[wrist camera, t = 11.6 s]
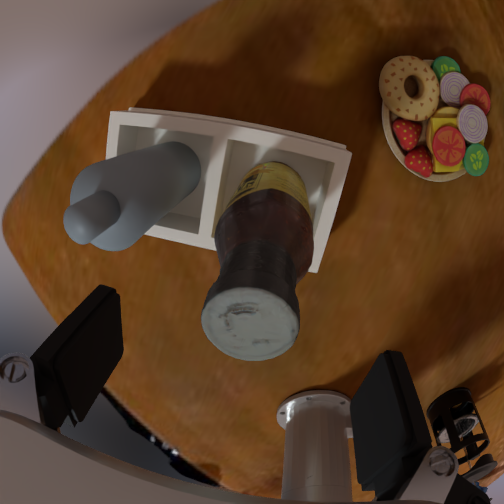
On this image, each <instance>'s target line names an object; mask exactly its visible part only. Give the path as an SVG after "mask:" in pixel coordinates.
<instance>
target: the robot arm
mask: <svg viewBox="0 0 504 504" xmlns="http://www.w3.org/2000/svg"><path fill="white" fill-rule="evenodd" d="M123 350H124V347H123V336H122V323H121V306H120V295H119V294H117V293H116V290H115V289H114V288H111V287H108V286H105V285H99V286H98V287H97V288H96V289H95V290H94V291H93V292H92V293H91V294H90V295H89V296H88V297H87V298H86V299H85V300H84V301H83V302H82V303H81V304H80V305H79V306H78V307H77V308H76V309H75V310H74V311H73V312H72V313H71V314H70V315H68V317H67V318H66V319H65V320H64V321H63V322H62V323H61V324H60V325H59V326H58V327H57V328H56V329H55V331H53V333H52V334H51V335H50V336H49V337H48V338H47V339H46V340H45V341H44V342H43V344H42V345H41V346H40V347H39V348H38V349H37V350H36V352H35V353H34V354H33V355H32V356H31V357H30V358H29V357H27V356H26V355H25V354H21V353H10V354H7V355H5V356H3V357H2V358H1V359H0V504H490V499H489V497H488V496H487V494H486V493H485V492H484V491H482V490H481V489H479V488H478V487H476V486H475V485H473V484H472V483H471V482H469V481H468V480H466V479H465V478H463V477H462V476H461V475H459V474H458V473H457V472H458V468H459V465H458V460H457V457H456V456H455V454H454V453H453V452H452V451H451V450H450V449H448V448H446V447H444V446H435V447H433V448H432V445H431V442H432V440H431V436H430V433H429V430H428V426H427V423H426V420H425V417H424V414H423V410H422V407H421V404H420V401H419V398H418V395H417V392H416V389H415V387H414V384H413V381H412V378H411V375H410V373H409V370H408V367H407V364H406V362H405V359H404V356H403V354H402V353H401V352H398V351H391V350H386V351H385V352H384V353H381V354H380V355H379V356H378V358H377V359H376V361H375V363H374V365H373V366H372V368H371V370H370V371H369V373H368V375H367V376H366V378H365V379H364V381H363V383H362V384H361V386H360V387H359V389H358V391H357V392H356V394H355V395H354V397H353V398H352V400H350V398H348V397H347V396H346V395H343V394H341V393H339V392H335V391H329V390H312V391H306V392H302V393H299V394H296V395H293V396H291V397H289V398H288V399H286V400H285V401H283V403H282V404H281V405H280V406H279V408H278V410H277V421H278V423H279V425H280V426H281V427H282V428H283V429H285V430H286V433H285V451H284V467H283V482H282V495H281V499H275V498H266V497H259V496H252V495H245V494H239V493H234V492H228V491H223V490H218V489H213V488H209V487H204V486H200V485H196V484H192V483H188V482H185V481H181V480H177V479H174V478H170V477H167V476H164V475H161V474H157V473H154V472H151V471H148V470H145V469H142V468H139V467H137V466H134V465H131V464H128V463H126V462H123V461H120V460H118V459H116V458H113V457H111V456H108V455H106V454H104V453H101V452H99V451H97V450H94V449H92V448H90V447H87V446H85V445H83V444H81V443H79V442H77V441H74V440H72V439H70V438H68V437H66V436H64V435H62V434H61V432H60V428H59V427H61V425H62V424H63V422H64V423H66V424H68V425H70V426H72V427H75V425H76V424H77V422H82V421H83V420H84V418H85V416H86V415H87V413H88V411H89V409H90V408H91V406H92V404H93V403H94V401H95V399H96V398H97V396H98V394H99V393H100V391H101V390H102V388H103V386H104V385H105V383H106V381H107V380H108V378H109V377H110V375H111V373H112V372H113V370H114V369H115V367H116V365H117V364H118V362H119V361H120V359H121V357H122V355H123ZM348 438H353V440H354V449H355V459H356V469H357V480H358V483H359V484H361V485H362V491H373V490H375V498H374V499H373V500H372V501H371V502H353V501H352V484H351V470H350V458H349V447H348Z"/></svg>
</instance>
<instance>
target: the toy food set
mask: <svg viewBox="0 0 504 504" xmlns="http://www.w3.org/2000/svg"><path fill="white" fill-rule="evenodd" d="M379 90H380V94H381V97H382V99H383V103H382V123H383V129H384V132H385V136H386V139H387V141H388V144H389V146H390V148H391V150H392V151H393V153H394V154H395V156H396V157H397V159H398V160H399V161H400V162H401V163H402V164H403V165H404V166H405V167H406V168H407V169H408V170H409V171H411V172H412V173H414V174H415V175H417V176H419V177H421V178H423V179H426V180H430V181H435V182H443V181H449V180H453V179H455V178H458V177H460V176H461V175H463V174H465V173H466V172H468V173H469V174H471V175H473V176H480V175H482V174H483V173H484V172H485V171H486V169H487V167H488V163H489V156H488V153H487V150H486V149H485V147H484V141H485V136H486V134H487V128H488V125H487V119H486V115H487V113H488V112H489V109H490V97H489V95H488V93H487V91H486V90H485V89H484V88H483V87H482V86H480V85H478V84H471V83H470V82H469V81H468V80H467V78H466V77H465V76H463V75H462V74H461V70H460V67H459V65H458V64H457V63H456V62H455V61H454V60H453V59H452V58H450V57H447V56H440V57H438V58H436V59H435V60H421V59H419V58H417V57H414V56H398V57H395V58H393V59H391V60H390V61H388V62H387V63H386V64H385V65H384V67H383V69H382V71H381V74H380V78H379Z"/></svg>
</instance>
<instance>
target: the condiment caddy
mask: <svg viewBox="0 0 504 504" xmlns="http://www.w3.org/2000/svg"><path fill="white" fill-rule="evenodd" d="M351 156H352V153H351V152H350V151H348V150H346V145H343V144H340V143H336V142H332V141H329V140H325V139H321V138H317V137H313V136H309V135H305V134H301V133H297V132H293V131H288V130H284V129H279V128H275V127H270V126H265V125H260V124H255V123H250V122H244V121H239V120H233V119H227V118H221V117H214V116H208V115H201V114H193V113H185V112H177V111H168V110H157V109H146V108H129V111H111V112H110V120H109V129H108V139H107V150H106V160H103V161H100V162H97V163H94V164H92V165H90V166H88V167H86V168H85V169H83V170H82V171H81V172H80V173H79V175H78V176H77V178H76V179H75V181H74V184H73V186H72V190H71V196H70V204H71V206H69V207H68V208H67V209H66V211H65V213H64V227H65V230H66V232H67V234H68V235H69V236H70V238H71V239H72V240H73V241H75V242H77V243H79V244H88V243H89V242H91V243H92V244H93V245H95V246H97V247H99V248H101V249H104V250H108V251H120V250H124V249H126V248H128V247H130V246H131V245H133V244H134V243H135V242H136V241H137V240H138V239H139V238H140V237H141V236H142V235H144V234H146V235H150V236H154V237H159V238H163V239H167V240H172V241H176V242H180V243H185V244H189V245H194V246H198V247H202V248H207V249H211V250H216V247H215V241H214V235H215V229H216V225H217V223H218V221H219V219H220V217H221V215H222V213H223V212H224V210H225V208H226V206H227V204H228V203H229V201H230V199H231V197H232V196H233V194H234V192H235V191H236V189H237V188H238V186H239V184H240V183H241V181H242V179H243V178H244V176H245V175H246V174H247V173H248V172H249V171H250V170H251V169H252V168H254V167H255V166H257V165H259V164H262V163H266V162H271V161H277V162H282V163H284V164H287V165H288V166H290V167H291V168H293V169H294V170H295V171H296V172H298V174H299V175H300V176H301V179H302V180H303V182H304V184H305V187H306V191H307V196H308V202H309V207H310V213H311V218H312V224H313V240H314V254H313V258H312V264H311V266H310V268H309V270H308V271H309V272H314V273H317V271H318V268H319V265H320V262H321V259H322V256H323V253H324V250H325V246H326V243H327V240H328V237H329V233H330V230H331V227H332V224H333V220H334V217H335V214H336V210H337V207H338V203H339V200H340V196H341V193H342V189H343V186H344V182H345V178H346V175H347V171H348V167H349V163H350V160H351ZM216 251H217V250H216Z"/></svg>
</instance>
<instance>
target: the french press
mask: <svg viewBox="0 0 504 504" xmlns="http://www.w3.org/2000/svg"><path fill="white" fill-rule="evenodd" d="M460 403H462V405H461V406H460V407H459V408H457V409H456V410H455V411H453V412H450V410H449V408H451V407H453V406H455V405H457V404H460ZM474 410H475V413H476V414H473V413H472V412H473V411H474ZM439 415H441V416H439ZM427 417H428V418H429V420H430V423H431V427H432V429H433V433H434V436H435V440H436V443H437V446H441V443H447V442H450V444H451V448H450V450H451V451H452V452H453V453H456V452H457V451H459V450H460V449H462V448H464V452H465V455H466V456H464V457H462V458H460V459H457V460H458V465H461V464H463V463H465V462H467V461H468V465H469V468H470V470H469V471H468V472H466V473H465V474H463V475H461V476H462V477H463V478H465V479H466V480H468V481H469V482H471V483H474V485H475V486H476V487H477V485H476V482H475V481H477V480H479V479H481V478H482V477H484V476H485V475H487V474H488V473H490V472H491V471H492V470H493V469H494V468H495V467H496V466H497V461H494V460H493V457H492V455H491V454H485V455H483V456H481V457H480V458H479V460H478V461H477V462H476V464H475V465H474V466H473V467H471V464H470V461H469V460H474V459H475V458H477V457H478V456H480V453H481V452H482V451H484V450H485V449H486V448H487V446H488V445H489V443H490V441H489V438H488V435H487V433H486V430H485V428H484V425H483V423H482V420H481V418H480V415H479V413H478V411H477V408H476V406H475V404H474V401H473V399H472V397H471V392H470V390H469V389H468V388H465V387H460V388H455V389H452V390H450V391H448V392H446V393H444V394H442V395H441V396H439V397H438V398H437V399H435V400H434V401H433V402H432V403H431V405H430V406H429V407H428V409H427ZM478 421H479V422H480V425H481V428H482V430H483V433H481V434H477V435H473V433H472V429H473V428H474V427H475V426H476V425H477V423H478ZM437 431H439V433H437ZM462 438H463V439H462ZM460 439H461V441H460ZM481 440H485V441H484V443H483V444H482V445H481V446H480V447H477V444H476V442H477V441H481ZM465 447H466V448H465ZM466 450H467V451H466ZM467 453H468V454H467ZM491 500H492V498H490V501H491Z"/></svg>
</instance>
